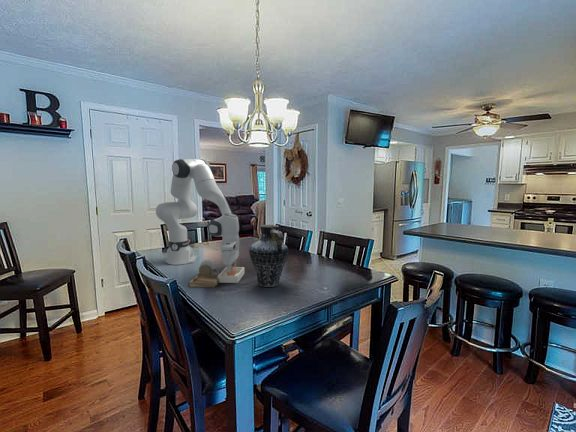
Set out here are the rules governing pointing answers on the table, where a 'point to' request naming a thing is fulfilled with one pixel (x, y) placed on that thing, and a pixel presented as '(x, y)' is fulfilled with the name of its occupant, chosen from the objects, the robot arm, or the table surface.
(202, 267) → the ceramic mug
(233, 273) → the ball
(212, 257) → the table surface
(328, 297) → the table surface
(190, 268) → the table surface
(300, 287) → the table surface
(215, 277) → the tray
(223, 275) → the white storage bin
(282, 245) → the jug
